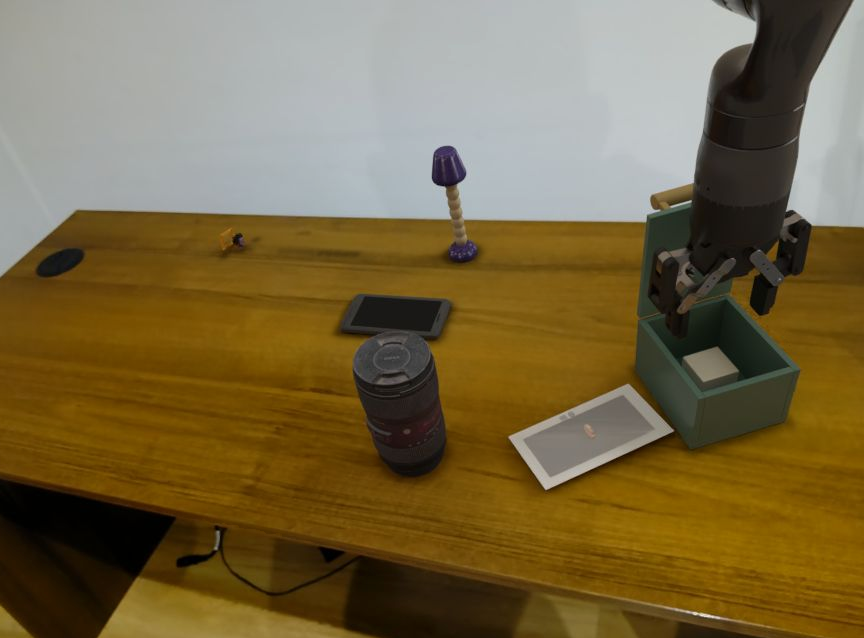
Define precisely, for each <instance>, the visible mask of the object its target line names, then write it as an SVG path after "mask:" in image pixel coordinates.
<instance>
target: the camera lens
mask: <svg viewBox="0 0 864 638" xmlns="http://www.w3.org/2000/svg"><path fill="white" fill-rule="evenodd" d="M352 376H353V381H354V384H355V389H356V391H357V395H358V398H359V401H360V403H361V406H362V409H363V410H364V412H365V416H366V418H365V424H366V427H367V430H368V432H369V433H370V435H371V439H372V443H373V445H374V447H375V449H376V451H377V453H378V455H379V458H380V460H381V461H382V462H383V463H384V464H385V465H386V466H387V467H388V469H389V470H390V471H391V472H392V473H394V474H396V475H398V476H400V477H402V478H403V477H404V478H419V477H423V476H425V475H428V474H430V473H431V472H433V471H434V470H435V469H436V468H438V466H439V465H440V464H441V462H442V461H443V459H444V455H445V450H446V447H447V427H446V420H445V415H444V412H443V408H442V403H441V398H440V384H439V376H438V371H437V366H436V360H435V356H434V354H433V353H432V350H431V347H430V345H429V343H428V342H427V341H426V339H423V338H421V337H420V336H418V335H416V334H414V333H409V332H404V331H393V332H386V333H382V334H378V335H373V336H372V337H370V338H367V340H365V341H364V342H363V343H362V344H360V345H359V347H358V348H357V349H356V350H355V352H354V355H353V358H352Z"/></svg>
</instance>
